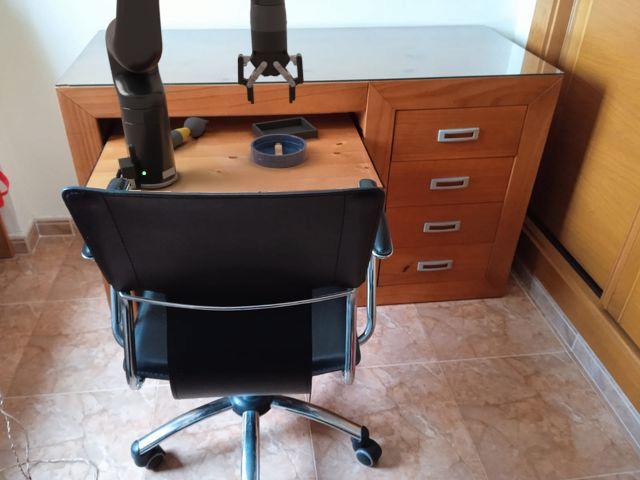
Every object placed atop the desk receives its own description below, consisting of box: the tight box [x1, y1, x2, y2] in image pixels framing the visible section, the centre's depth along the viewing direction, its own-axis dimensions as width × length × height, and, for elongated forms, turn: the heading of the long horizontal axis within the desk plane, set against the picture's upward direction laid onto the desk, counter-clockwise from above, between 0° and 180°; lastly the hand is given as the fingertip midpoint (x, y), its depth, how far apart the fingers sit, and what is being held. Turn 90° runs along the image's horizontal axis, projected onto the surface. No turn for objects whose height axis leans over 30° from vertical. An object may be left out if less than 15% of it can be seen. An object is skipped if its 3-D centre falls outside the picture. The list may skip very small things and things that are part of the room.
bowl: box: [249, 134, 308, 169], centre depth 127 cm, size 13×13×4 cm
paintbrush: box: [171, 116, 210, 149], centre depth 133 cm, size 20×5×5 cm, turn 155°
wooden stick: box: [275, 143, 282, 155], centre depth 128 cm, size 10×2×2 cm, turn 5°
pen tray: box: [251, 116, 319, 141], centre depth 139 cm, size 14×10×2 cm
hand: (271, 102), depth 120 cm, fingers open, 8 cm apart
